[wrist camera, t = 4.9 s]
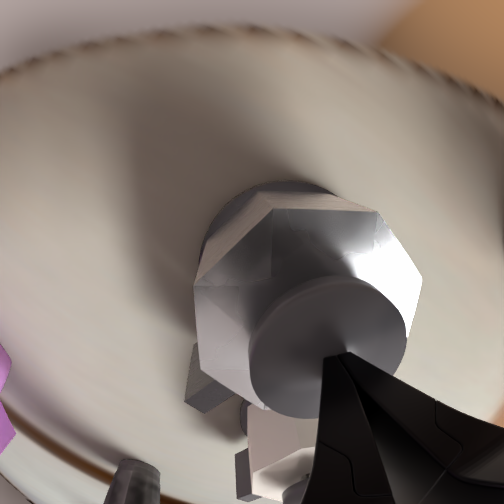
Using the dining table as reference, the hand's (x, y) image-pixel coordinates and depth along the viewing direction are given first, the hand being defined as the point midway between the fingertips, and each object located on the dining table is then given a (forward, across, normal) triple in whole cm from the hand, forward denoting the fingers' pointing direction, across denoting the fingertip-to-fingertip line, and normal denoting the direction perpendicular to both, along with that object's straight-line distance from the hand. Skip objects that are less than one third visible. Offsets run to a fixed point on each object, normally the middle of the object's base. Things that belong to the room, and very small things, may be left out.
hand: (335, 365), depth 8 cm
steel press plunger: (+6, 0, 0) cm, 6 cm away
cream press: (+9, +1, +13) cm, 15 cm away
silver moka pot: (+9, +1, +1) cm, 9 cm away
